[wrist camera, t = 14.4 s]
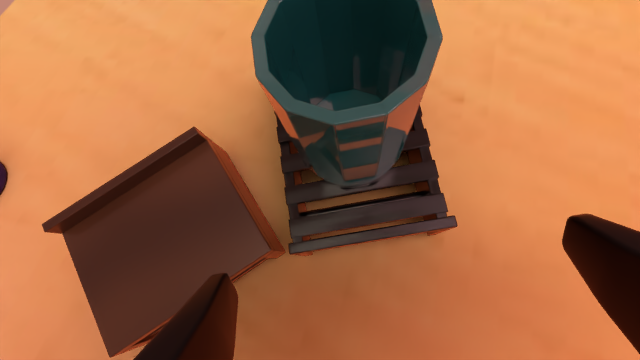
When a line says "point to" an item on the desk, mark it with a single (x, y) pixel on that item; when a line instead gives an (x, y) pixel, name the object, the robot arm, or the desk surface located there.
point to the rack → (364, 213)
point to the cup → (346, 78)
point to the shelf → (162, 237)
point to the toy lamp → (2, 177)
